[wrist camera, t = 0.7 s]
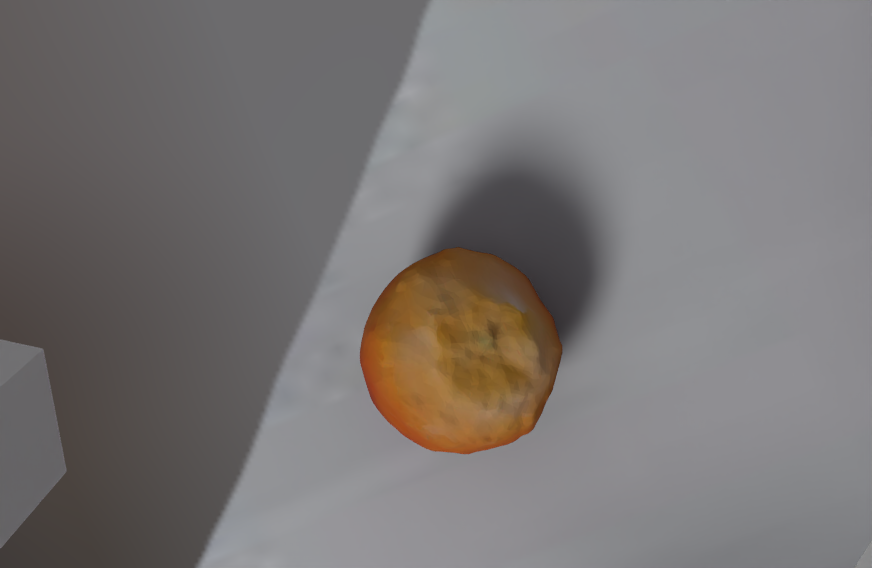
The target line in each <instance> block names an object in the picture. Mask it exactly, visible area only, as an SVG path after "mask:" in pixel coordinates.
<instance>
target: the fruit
mask: <svg viewBox="0 0 872 568" xmlns="http://www.w3.org/2000/svg"><path fill="white" fill-rule="evenodd" d="M561 355H562V344H561V342H560V340H559V337H558V334H557V330H556V326H555V322H554V319H553V317H552V315H551V314H550V313H549V311H548V310H547V308H546V307H545V306H544V304H543V303H542V302H541V300H540V299H539V297H538V295H537V293H536V291H535V289H534V287H533V286H532V284H531V282H530V281H529V279H528V278H527V277H526V276H525V275H524V274H523V273H522V272H521V271H519V270H518V269H517V268H515V267H514V266H512V265H511V264H509V263H507V262H505V261H504V260H502V259H500V258H499V257H497V256H495V255H492V254H487V253H481V252H476V251H472V250H467V249H463V248H460V247H456V248H452V249H444V250H442V251H441V252H438V253H436V254H433V255H431V256H428V257H425V258H423V259H421V260H419V261H417V262H415V263H413V264H412V265H410V266H409V267H407V268H406V269H404V270H403V271H402V272H400V273H399V274H398V275H397V276H396V277H395V278H394V279H393V280H392V281H391V282H390V283H389V284H388V286H387V287H386V288H385V289H384V291H383V292H382V294H381V295H380V296H379V298H378V300H377V301H376V303H375V304H374V306H373V308H372V310H371V313H370V315H369V317H368V320H367V322H366V325H365V328H364V333H363V337H362V342H361V349H360V363H361V367H362V371H363V374H364V378H365V381H366V385H367V388H368V391H369V394H370V397H371V399H372V401H373V403H374V405H375V406H376V408H377V409H378V410H379V412H380V413H381V414H382V415H383V416H384V418H385V419H386V420H387V421H388V422H389V423H390V424H391V425H393V426H394V427H395V428H396V429H397V430H398V431H399V432H400V433H401V434H403V435H404V436H405V437H407V438H409V439H410V440H412V441H414V442H415V443H417V444H419V445H420V446H422V447H424V448H426V449H429V450H432V451H442V452H454V453H460V454H470V453H473V452H477V451H482V450H488V449H491V448H495V447H499V446H503V445H506V444H509V443H512V442H514V441H516V440H517V439H518V438H519V437H521V436H522V435H525V434H528V433H529V432H531V431H532V430H533V429H534V427H535V425H536V423H537V421H538V419H539V417H540V416H541V414H542V411H543V409H544V406H545V404H546V401H547V399H548V398H549V396H550V394H551V392H552V390H553V386H554V382H555V379H556V375H557V371H558V368H559V364H560V360H561Z"/></svg>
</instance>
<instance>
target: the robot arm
mask: <svg viewBox="0 0 872 568" xmlns="http://www.w3.org/2000/svg"><path fill="white" fill-rule="evenodd" d="M64 473H66V466H65V461H64V455H63V450H62V445H61V439H60V434H59V429H58V424H57V419H56V413H55V408H54V403H53V398H52V392H51V387H50V382H49V377H48V372H47V366H46V361H45V356H44V350H43V349H41V348H37V347H32V346H28V345H23V344H18V343H13V342H9V341H5V340H0V548H1V547H2V546H3V545H4V544H5V543H6V541H7V540H8V539H9V538H10V537H11V535H12V534H13V533H14V532H15V531H16V530H17V529H18V527H19V526H20V525H21V524H22V523H23V522H24V520H25V519H26V518H27V517H28V516H29V514H30V513H31V512H32V511H33V510H34V509H35V507H36V506H37V505H38V504H39V503H40V502H41V501H42V499H43V498H44V497H45V496H46V495H47V494H48V492H49V491H50V490H51V489H52V488H53V486H54V485H55V484H56V483H57V482H58V481H59V480H60V478H61V477H62V476H63V475H64ZM855 568H872V540H871V542H870V544H869V545H868V547H867V549H866V550H865V552H864V553H863V555H862V557H861V558H860V560H859V561H858V563H857V565H856V566H855Z"/></svg>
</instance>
